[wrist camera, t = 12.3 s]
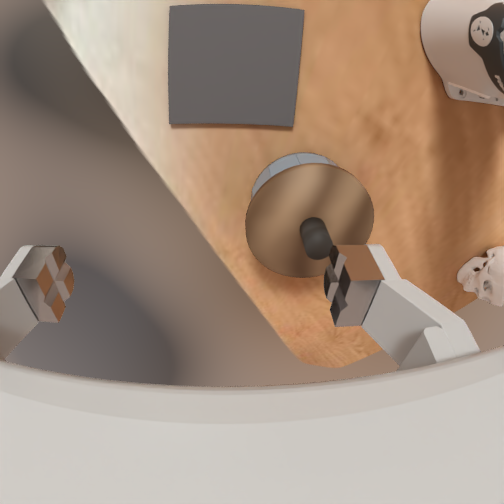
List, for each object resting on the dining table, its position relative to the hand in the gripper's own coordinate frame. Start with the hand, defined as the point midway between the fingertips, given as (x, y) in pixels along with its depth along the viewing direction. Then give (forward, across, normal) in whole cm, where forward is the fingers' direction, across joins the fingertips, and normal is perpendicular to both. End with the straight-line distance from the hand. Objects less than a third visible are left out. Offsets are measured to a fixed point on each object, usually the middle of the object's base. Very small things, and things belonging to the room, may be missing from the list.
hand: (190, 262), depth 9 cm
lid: (+25, -11, +15) cm, 31 cm away
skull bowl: (+31, -54, +26) cm, 68 cm away
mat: (+31, -1, -4) cm, 31 cm away
